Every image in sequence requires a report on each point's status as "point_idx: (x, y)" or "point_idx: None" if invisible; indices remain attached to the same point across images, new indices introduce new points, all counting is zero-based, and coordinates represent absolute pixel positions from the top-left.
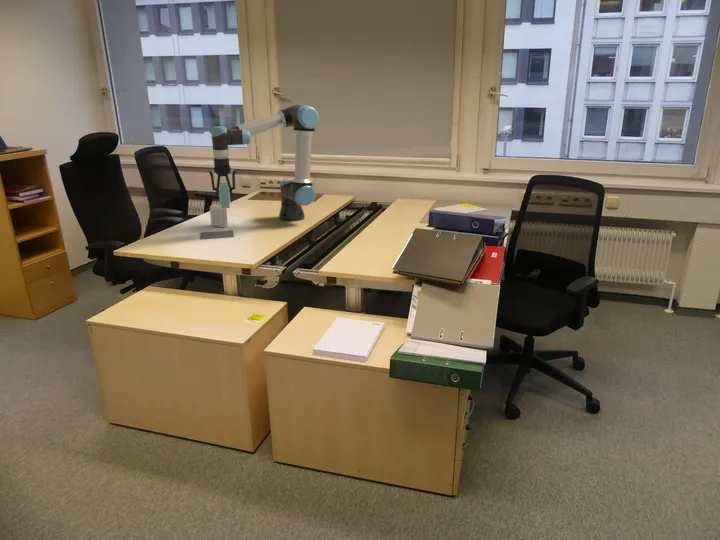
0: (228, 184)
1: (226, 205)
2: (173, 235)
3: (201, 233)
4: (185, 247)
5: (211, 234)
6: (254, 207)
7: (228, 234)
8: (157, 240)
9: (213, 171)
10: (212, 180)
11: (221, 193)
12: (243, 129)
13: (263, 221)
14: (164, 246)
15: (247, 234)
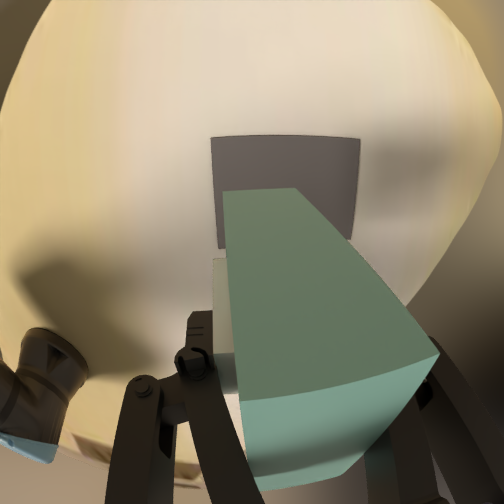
0: (228, 446)
1: (252, 196)
2: (426, 225)
3: (349, 222)
4: (401, 51)
5: (313, 196)
6: (185, 440)
7: (237, 179)
8: (462, 179)
9: None
10: (486, 430)
11: (342, 253)
12: None
13: (122, 348)
14: (452, 99)
15: (148, 174)
